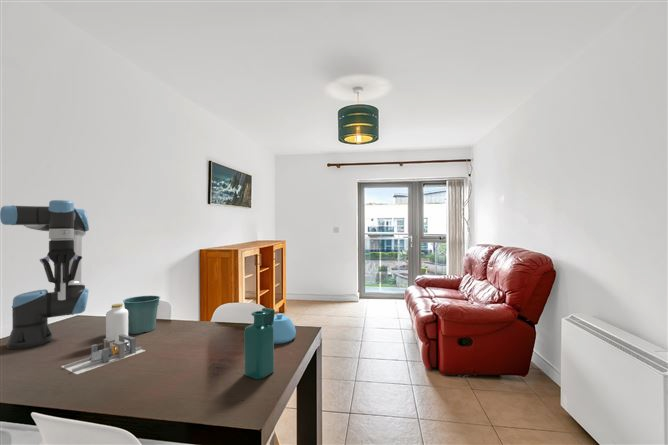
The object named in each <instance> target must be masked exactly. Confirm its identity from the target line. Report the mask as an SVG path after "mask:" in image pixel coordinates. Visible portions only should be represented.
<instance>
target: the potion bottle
mask: <svg viewBox="0 0 668 445" xmlns="http://www.w3.org/2000/svg"><path fill="white" fill-rule="evenodd" d="M123 304H124V303H114V304H112V305H111V307H110V308H111V309H110V310H108V311H107V312H106V313H105V339H106V338H112V339H115V341H119V335H121V334H124V335H127V336H129V332H128V310H127V309H125V307H124V305H123ZM125 342H129V341H128V340H125ZM112 346H116V345H113V342H112V343H110V347H112Z"/></svg>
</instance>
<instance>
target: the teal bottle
mask: <svg viewBox="0 0 668 445" xmlns="http://www.w3.org/2000/svg"><path fill="white" fill-rule="evenodd" d="M275 313H276V311H275V309H273V308H269V307H263V308H262V309H261V310H256V311H253V312H252V313H251V314H250V315H251V316H253V323H252V324H249V325H247V326H246V327H245V328H244V331H243V332H244V333H243V335H244V336H243V339H244V342H243V343H244V349H243V350H244V352H243V353H244V375H245V376H246V377H248V378H252V379H255V380H262V379H264V378H265V377H268V376H269V375H271V374H273V373H274V372H275V349H274V346H275V344H274V329H273V326H272V324H273V322H274V316H275Z"/></svg>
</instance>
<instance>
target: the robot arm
mask: <svg viewBox="0 0 668 445" xmlns="http://www.w3.org/2000/svg"><path fill="white" fill-rule="evenodd" d="M74 205H75V203H74V202H73V200H65V199H63V200H62V199H60V200H59V199H52V200H50V201H49V202H48V206H41V205H40V206H39V205H37V206H36V205H35V206H34V205H33V206H32V205H31V206H30V205H3V206H2V207H0V222H1V224H2V225H6V226H23V227H25V228H27V229H30V230H35V231H36V230H37V231H40V232H48V239H49V241H48V252H47V254H46V256H45V257H43V258H39V262H40V263H41V264H42V265H43V268H44V272H45V274H46V278H47V281H48V282H49V283H51V284H54V288H53V290H54V291H52V292H51V291H50V292H49V291H48V290H47V289H38V290H33V291H27V292H23V293H20V294H18V295H15V296H14V297H13V299H12V306H11V309H12V310H11V311H12V329H11V332H10V335H9V337H8V339H7V341H6V348H7V349H8V350H21V349H27V348H28V349H29V348H32V347H37V346H42V345H44V344H46V343H49V342H51V341H52V340H53V338H54V337H53V333H52V330H51V328H50V326H49V323H48V319H49V318H56V317H64V316H71V315H72V316H73V315H76V314H77V315H78V314H82V313H83V312H85V311H86V308H87V303H88V298H89V288H86V285H85V284H84V283H82V260H83V256H82V249H83V248H82V246H83V245H82V243H83V242H82V240H83V237H84V236H85V235H86V232H88V231H89V230H90V229H89V228H90V227H89V222H88V221H89V220H88V215H87V211H86V210H85V209H82V208H75V206H74ZM50 260H51V261H50ZM50 262H52V263H53V266H54V267H53V269H54V272H53V270H52V267H51V264H50Z"/></svg>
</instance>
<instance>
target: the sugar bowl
mask: <svg viewBox="0 0 668 445" xmlns="http://www.w3.org/2000/svg"><path fill="white" fill-rule="evenodd" d="M272 326H273V329H274V345H275V344H277V345H279V344H285V343H286V344H287V343H289V342H291V341H292V340H293V339H294V338H295V337H296V335H297V333H296V332H297V330H296V326H295V324H294V322H293V321H292V319H291V318H290V317H289V316H287V315H284V314H283V313H280V312H279V313H276V315H274V322H273V324H272Z"/></svg>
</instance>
